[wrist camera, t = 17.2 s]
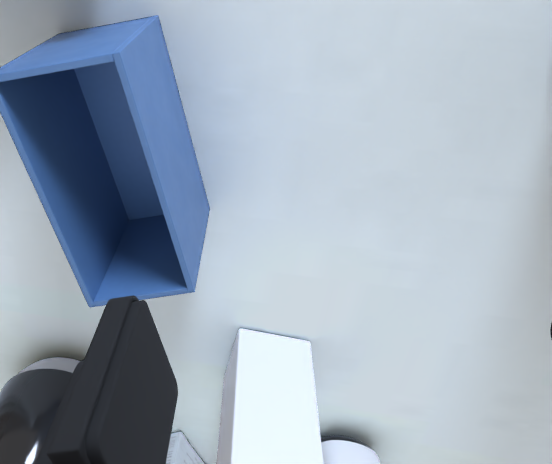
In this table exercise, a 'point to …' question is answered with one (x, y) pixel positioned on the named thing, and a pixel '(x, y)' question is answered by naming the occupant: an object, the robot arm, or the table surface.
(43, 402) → the pump dispenser
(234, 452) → the milk carton
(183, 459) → the cosmetic box
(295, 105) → the table surface
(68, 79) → the blue bin
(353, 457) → the spread jar
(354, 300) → the table surface
